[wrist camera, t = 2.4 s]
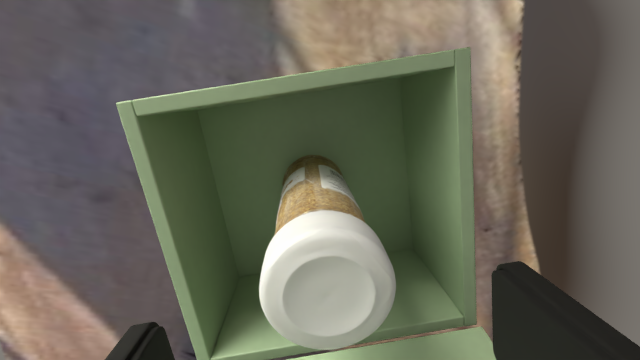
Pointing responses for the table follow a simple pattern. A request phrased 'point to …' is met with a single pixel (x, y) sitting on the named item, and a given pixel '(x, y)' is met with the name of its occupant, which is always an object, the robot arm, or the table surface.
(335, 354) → the lid
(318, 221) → the sprinkles bottle
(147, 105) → the bread box
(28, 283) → the table surface
